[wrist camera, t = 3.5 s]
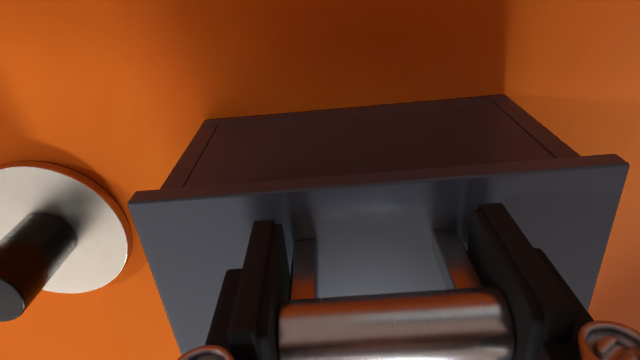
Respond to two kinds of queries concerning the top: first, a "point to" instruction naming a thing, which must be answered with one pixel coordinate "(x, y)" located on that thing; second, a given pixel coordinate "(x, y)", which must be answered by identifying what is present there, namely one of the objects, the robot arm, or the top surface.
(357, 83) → the top surface
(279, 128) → the dark grey open box
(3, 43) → the top surface
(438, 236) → the black box lid
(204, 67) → the top surface
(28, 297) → the pot lid
